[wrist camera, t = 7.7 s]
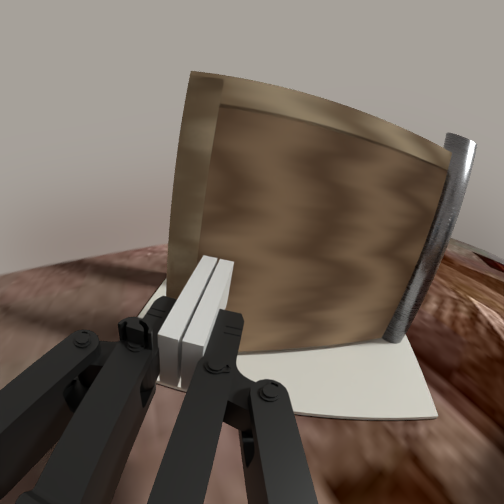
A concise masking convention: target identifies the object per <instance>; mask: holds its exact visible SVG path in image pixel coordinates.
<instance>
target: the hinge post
mask: <svg viewBox="0 0 504 504" xmlns="http://www.w3.org/2000/svg"><path fill="white" fill-rule="evenodd" d="M443 148H444V149H446V150H448V151H450V152H452V155H451V159H450V163H449V167H448V171H447V175H446V179H445V183H444V186H443V190H442V193H441V196H440V200H439V203H438V206H437V209H436V212H435V215H434V218H433V221H432V224H431V227H430V230H429V233H428V236H427V238H426V241H425V244H424V246H423V249H422V252H421V254H420V257H419V259H418V262H417V264H416V266H415V269H414V271H413V274H412V276H411V278H410V281H409V283H408V285H407V287H406V290H405V292H404V294H403V296H402V298H401V300H400V302H399V305H398V307H397V309H396V311H395V313H394V315H393V317H392V319H391V321H390V323H389V325H388V327H387V329H386V330H385V332H384V334H383V336H382V339H384V340H385V341H387V342H389V343H393V344H397V343H400V342H401V341H402V339H403V338H404V336H405V334H406V332H407V331H408V329H409V327H410V325H411V323H412V321H413V320H414V318H415V316H416V314H417V312H418V310H419V308H420V306H421V304H422V302H423V300H424V298H425V296H426V294H427V292H428V290H429V287H430V285H431V283H432V281H433V279H434V277H435V274H436V272H437V270H438V267H439V265H440V263H441V260H442V258H443V255H444V253H445V250H446V248H447V245H448V243H449V240H450V237H451V235H452V231H453V229H454V226H455V223H456V221H457V218H458V215H459V212H460V208H461V205H462V202H463V198H464V195H465V192H466V188H467V185H468V181H469V177H470V174H471V170H472V165H473V161H474V157H475V152H476V148H477V144H475V143H474V142H473V141H471V140H469V139H467V138H464V137H462V136H459V135H456V134H453V133H446V138H445V143H444V147H443Z"/></svg>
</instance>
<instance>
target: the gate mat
mask: <svg viewBox="0 0 504 504" xmlns="http://www.w3.org/2000/svg"><path fill="white" fill-rule="evenodd" d="M166 282H167V278H166V279H165V280H164V282H163V283H162V284H161V286H160V287H159V288H158V290H157V291H156V293H155V294H154V295H153V297H152V298H151V299H150V301H149V302H148V303H147V305H146V306H145V308H144V309H143V310H142V312H141V313H140V314H139V316H138V317H139V318H143V317H144V316H145V314H146V313H147V311H148V310H149V309H150V307H151V305H152V304H153V302H154V301H155V300H156V299H158V298H160V297H161V296H166ZM236 365H237V368H238V370H239V371H240V373H241V374H242V375H243V376H245V377H247V378H248V379H250V380H252V381H254V382H257V381H259V380H263V379H271V380H275V381H277V382H279V383H281V384H282V385H283V386H284V387H286V389H287V391H288V393H289V397H290V401H291V404H292V408H293V412H294V414H299V415H307V416H316V417H327V418H340V419H358V420H417V419H434V418H437V417H438V414H437V411H436V408H435V405H434V403H433V400H432V397H431V394H430V392H429V389H428V387H427V384H426V381H425V379H424V376H423V374H422V371H421V369H420V367H419V364H418V362H417V359H416V357H415V355H414V352H413V350H412V348H411V346H410V343H409V341H408V339H407V337H406V334H405V336H404V338H403V339H402V341H401V342H400V343H397V344H393V343H389V342H387V341H385V340H384V339H382V338H378V339H371V340H364V341H357V342H350V343H342V344H333V345H324V346H315V347H304V348H292V349H278V350H261V351H238V355H237V360H236ZM156 383H158V384H161V385H164V386H168V387H171V388H174V389H178V390H181V391H185V392H187V389H183V388H181V379H180V381H179V384H178V386H177V387H176V386H172V385H169V384H166V383H162V382H160V378H159V376H158V378H157V380H156Z"/></svg>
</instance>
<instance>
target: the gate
mask: <svg viewBox="0 0 504 504" xmlns="http://www.w3.org/2000/svg"><path fill="white" fill-rule="evenodd" d="M451 155H452V152H450V151H448V150H446V149H444V148H442V147H440V146H439V145H437V144H435V143H433V142H431V141H429V140H427V139H425V138H423V137H421V136H419V135H416V134H414V133H412V132H410V131H408V130H405V129H403V128H401V127H399V126H396V125H394V124H392V123H390V122H387V121H385V120H383V119H380V118H378V117H375V116H372V115H370V114H367V113H365V112H362V111H359V110H357V109H354V108H351V107H348V106H345V105H342V104H339V103H336V102H333V101H330V100H327V99H324V98H321V97H317V96H314V95H310V94H307V93H303V92H300V91H296V90H292V89H288V88H284V87H280V86H276V85H272V84H267V83H263V82H258V81H253V80H248V79H243V78H237V77H231V76H225V75H219V74H212V73H205V72H196V71H191V73H190V78H189V83H188V88H187V93H186V100H185V105H184V111H183V117H182V123H181V130H180V136H179V143H178V151H177V159H176V167H175V175H174V184H173V194H172V204H171V216H170V228H169V242H168V259H167V282H166V296H167V297H170V298H174V299H178V297H179V296H180V294H181V292H182V291H183V289H184V287H185V286H186V284H187V282H188V280H189V279H190V277H191V275H192V274H193V272H194V270H195V269H196V267H197V265H198V264H199V262H200V260H201V259H202V257H203V255H205V256H209V257H214V258H217V264H218V262H219V260H220V259H223V260H228V261H233V262H234V265H233V271H232V277H231V283H230V289H229V295H228V300H227V305H226V308H225V310H228V311H232V312H237V313H241V314H242V316H243V319H244V321H245V322H244V326H243V331H242V336H241V341H240V345H239V350H238V351H261V350H278V349H292V348H304V347H315V346H324V345H333V344H342V343H350V342H357V341H364V340H371V339H378V338H382V336H383V334H384V332H385V330H386V329H387V327H388V325H389V323H390V321H391V319H392V317H393V315H394V313H395V311H396V309H397V307H398V305H399V302H400V300H401V298H402V296H403V294H404V292H405V290H406V287H407V285H408V283H409V281H410V278H411V276H412V274H413V271H414V269H415V266H416V264H417V262H418V259H419V257H420V254H421V252H422V249H423V246H424V244H425V241H426V238H427V236H428V233H429V230H430V227H431V224H432V221H433V218H434V215H435V212H436V209H437V206H438V203H439V200H440V196H441V193H442V190H443V186H444V183H445V179H446V175H447V171H448V167H449V163H450V159H451ZM217 264H216V266H217Z"/></svg>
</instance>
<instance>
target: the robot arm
mask: <svg viewBox="0 0 504 504" xmlns="http://www.w3.org/2000/svg"><path fill="white" fill-rule="evenodd" d="M216 264H217V258H214V257H209V256H205V255H203V257H202V259H201V260H200V262H199V264H198V265H197V267H196V269H195V270H194V272H193V274H192V275H191V277H190V279H189V280H188V282H187V284H186V286H185V287H184V289H183V291H182V292H181V294H180V296H179V297H178V299H174V298H170V297H167V296H161V297H160V298H158V299H156V300H155V301H154V302H153V304H152V305H151V307H150V309H149V310H148V311H147V313H146V314H145V316H144V317H143V318H139V317H128V318H125V319H123V320H121V321H120V322H119V323H118V329H119V336H120V341H119V342H107V341H99V338H98V336H97V335H96V334H95V333H94V332H92V331H90V330H78V331H75V332H74V333H72V334H70V335H69V336H68V337H67V338H65V339H64V340H63V341H61V342H60V343H59V344H57V345H56V346H55V347H54V348H52V349H51V350H50V351H48V352H47V353H46V354H45V355H43V356H42V357H41V358H40V359H38V360H37V361H36V362H34V363H33V364H32V365H31V366H29V367H28V368H27V369H26V370H24V371H23V372H22V373H21V374H20V375H18V376H17V377H16V378H15V379H13V380H12V381H11V382H10V383H9V384H7V385H6V386H5V387H4V388H3V389H1V390H0V500H1V499H2V498H3V497H4V496H5V495H6V494H7V493H8V492H9V491H10V490H11V489H12V488H13V487H14V486H15V485H16V484H17V483H18V482H19V481H20V480H21V479H22V478H23V477H24V476H25V475H26V474H27V472H28V471H29V470H30V469H31V468H32V467H33V466H34V465H35V464H36V463H37V462H38V461H39V460H40V459H41V458H42V457H43V456H44V455H45V454H46V453H47V452H48V451H49V450H50V449H51V448H52V447H53V446H54V445H55V443H56V442H57V441H58V440H59V439H60V440H59V442H58V443H57V445H56V447H55V449H54V451H53V453H52V454H51V456H50V458H49V460H48V462H47V464H46V466H45V468H44V470H43V472H42V474H41V476H40V478H39V480H38V482H37V484H36V486H35V487H34V489H33V490H31V491H28V492H24V493H23V494H21V495H20V496H19V498H18V499H17V501H16V503H15V504H110V503H111V501H112V498H113V495H114V493H115V490H116V487H117V485H118V482H119V480H120V477H121V474H122V472H123V469H124V467H125V464H126V462H127V459H128V457H129V454H130V452H131V449H132V447H133V444H134V442H135V439H136V437H137V434H138V432H139V429H140V427H141V425H142V422H143V420H144V417H145V415H146V413H147V410H148V408H149V405H150V403H151V401H152V398H153V396H154V394H155V390H156V380H157V378H158V376H159V378H160V382H162V383H166V384H169V385H172V386H176V387H177V386H178V384H179V381H180V379H181V388H183V389H187V392H186V395H185V398H184V401H183V403H182V406H181V409H180V412H179V414H178V417H177V420H176V423H175V425H174V428H173V431H172V434H171V437H170V439H169V442H168V445H167V448H166V451H165V453H164V456H163V459H162V462H161V465H160V468H159V470H158V473H157V476H156V479H155V482H154V485H153V488H152V490H151V493H150V496H149V499H148V502H147V504H203V503H204V499H205V494H206V490H207V486H208V482H209V478H210V474H211V469H212V465H213V461H214V457H215V452H216V448H217V444H218V440H219V435H220V431H221V427H222V422H225V423H226V424H228V425H230V426H232V427H234V428H236V429H238V430H239V439H240V447H241V455H242V463H243V470H244V478H245V485H246V492H247V499H248V504H318V501H317V497H316V494H315V490H314V486H313V482H312V479H311V475H310V471H309V468H308V464H307V460H306V456H305V453H304V449H303V445H302V442H301V438H300V434H299V430H298V427H297V423H296V419H295V416H294V412H293V408H292V404H291V401H290V397H289V393H288V391H287V389H286V387H284V386H283V385H282V384H281V383H279V382H277V381H275V380H271V379H263V380H259V381H257V382H254V381H252V380H250V379H248V378H247V377H245V376H243V375H242V374H241V373H240V371H239V370H238V368H237V365H236V360H237V355H238V350H239V345H240V341H241V336H242V331H243V326H244V322H245V321H244V319H243V316H242V314H241V313H237V312H232V311H228V310H225V308H226V305H227V300H228V295H229V289H230V283H231V277H232V271H233V265H234V262H233V261H228V260H223V259H220V260H219V262H218V264H217V266H216Z"/></svg>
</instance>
